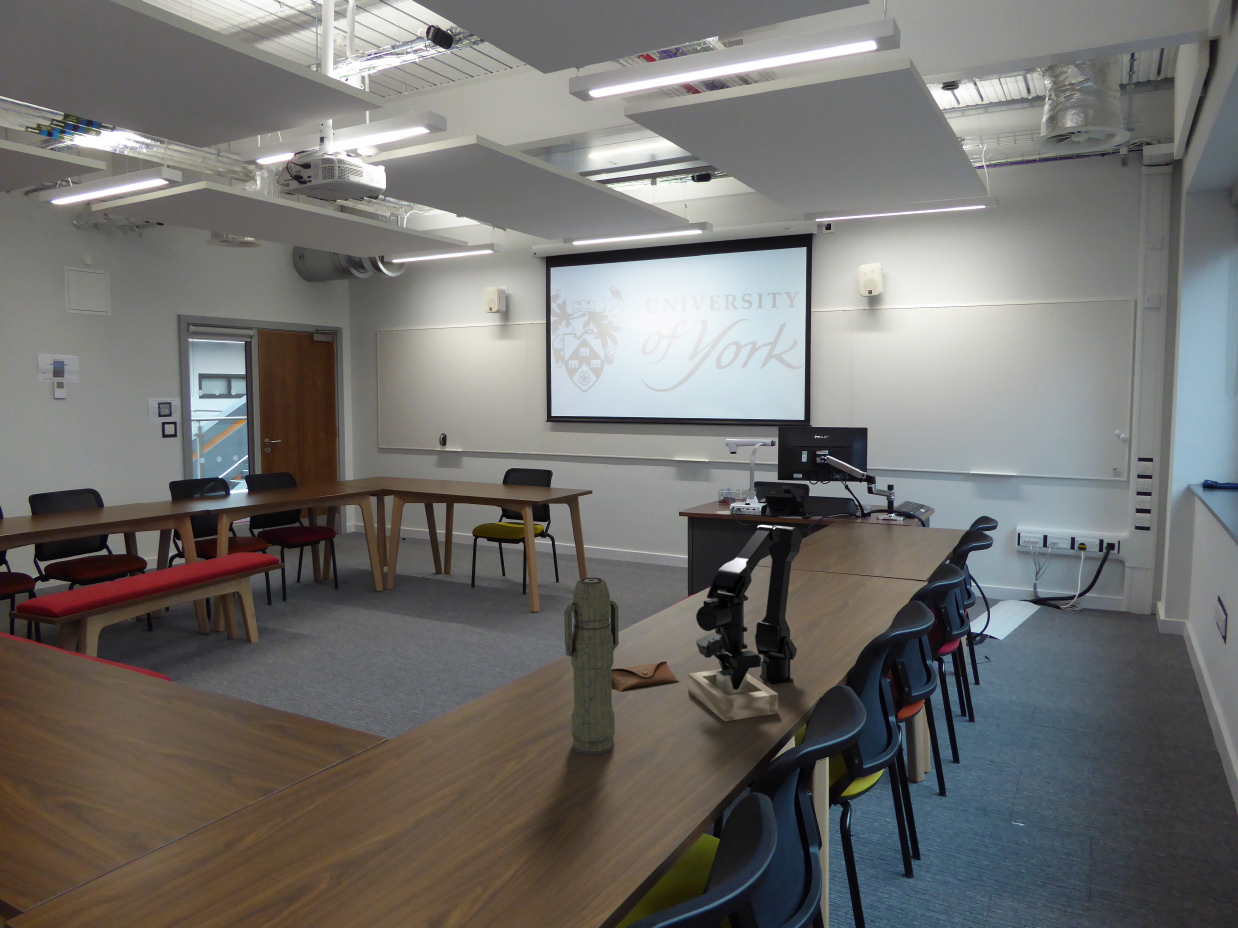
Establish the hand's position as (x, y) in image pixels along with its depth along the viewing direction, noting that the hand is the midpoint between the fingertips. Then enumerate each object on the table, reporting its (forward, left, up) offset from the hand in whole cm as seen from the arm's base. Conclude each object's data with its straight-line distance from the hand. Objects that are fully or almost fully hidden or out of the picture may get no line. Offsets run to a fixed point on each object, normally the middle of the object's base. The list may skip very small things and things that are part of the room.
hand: (731, 686), depth 189 cm
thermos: (+38, +12, -4) cm, 40 cm away
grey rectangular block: (0, 0, -1) cm, 1 cm away
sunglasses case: (+15, -20, -5) cm, 26 cm away
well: (0, 0, -4) cm, 4 cm away
